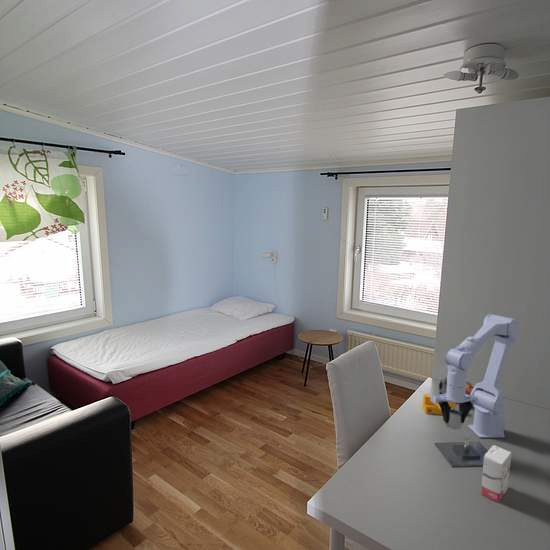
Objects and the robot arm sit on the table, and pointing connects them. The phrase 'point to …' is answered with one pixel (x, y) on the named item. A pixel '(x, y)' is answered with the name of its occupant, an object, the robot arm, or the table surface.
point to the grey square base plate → (463, 453)
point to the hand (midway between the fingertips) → (453, 421)
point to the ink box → (496, 473)
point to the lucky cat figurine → (444, 387)
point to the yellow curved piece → (433, 405)
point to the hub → (455, 419)
